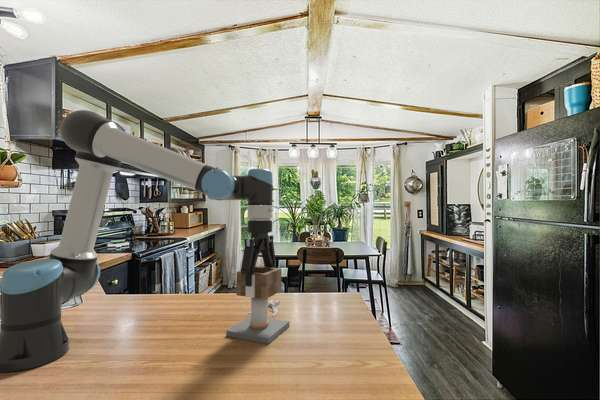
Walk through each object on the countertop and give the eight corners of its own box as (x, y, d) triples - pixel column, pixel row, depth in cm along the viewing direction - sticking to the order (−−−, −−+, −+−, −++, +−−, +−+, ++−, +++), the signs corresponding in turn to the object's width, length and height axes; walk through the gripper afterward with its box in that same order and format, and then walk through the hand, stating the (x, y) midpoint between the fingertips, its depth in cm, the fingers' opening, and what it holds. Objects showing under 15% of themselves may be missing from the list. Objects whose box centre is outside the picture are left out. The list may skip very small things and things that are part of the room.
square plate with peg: (268, 343, 87) (268, 307, 88) (226, 335, 93) (226, 301, 93) (289, 326, 100) (289, 294, 101) (251, 319, 106) (251, 289, 106)
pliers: (247, 310, 111) (264, 298, 126) (247, 315, 111) (264, 302, 126) (274, 313, 109) (287, 300, 123) (274, 318, 109) (287, 304, 123)
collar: (266, 299, 90) (266, 274, 90) (236, 295, 94) (236, 271, 94) (281, 290, 99) (281, 268, 100) (253, 287, 103) (253, 265, 103)
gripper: (251, 221, 85) (250, 304, 85) (286, 218, 106) (286, 285, 106) (228, 220, 88) (227, 300, 88) (266, 218, 109) (266, 282, 109)
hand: (259, 292), depth 97 cm, fingers closed on collar, 10 cm apart
